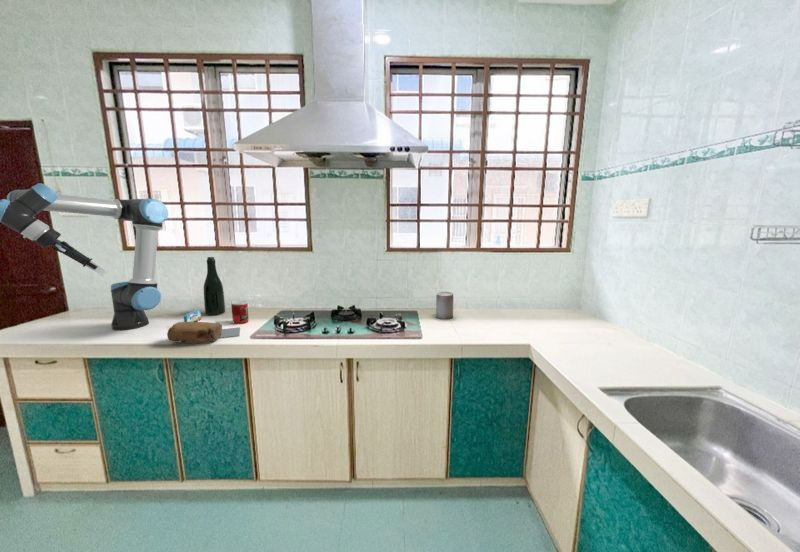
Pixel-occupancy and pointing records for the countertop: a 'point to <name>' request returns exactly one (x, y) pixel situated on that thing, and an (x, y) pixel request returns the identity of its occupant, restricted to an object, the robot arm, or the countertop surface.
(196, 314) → the blue snack box
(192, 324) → the brown lumpy oval piece
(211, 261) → the beer bottle
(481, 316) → the countertop surface
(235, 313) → the canned food
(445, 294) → the pillar candle
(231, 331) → the mat
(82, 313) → the countertop surface
